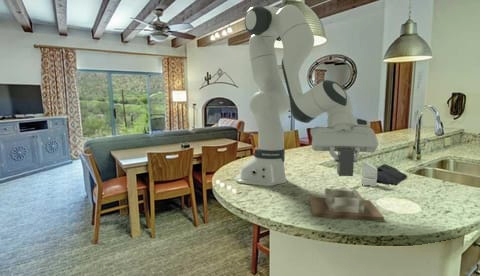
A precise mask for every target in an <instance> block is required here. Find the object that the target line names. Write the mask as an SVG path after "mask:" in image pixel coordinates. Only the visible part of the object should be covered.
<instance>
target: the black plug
mask: <svg viewBox="0 0 480 276" xmlns="http://www.w3.org/2000/svg"><path fill="white" fill-rule="evenodd" d="M337 155H339V162H336V163H337V164H336V165H337V167H336V168H337V169H336V170H337V171H336V173H337V175H338V176H339V177H353V176H354V163H355V162H354V155H355V154H354V150H353V149H349V148H338V151H337Z"/></svg>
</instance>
